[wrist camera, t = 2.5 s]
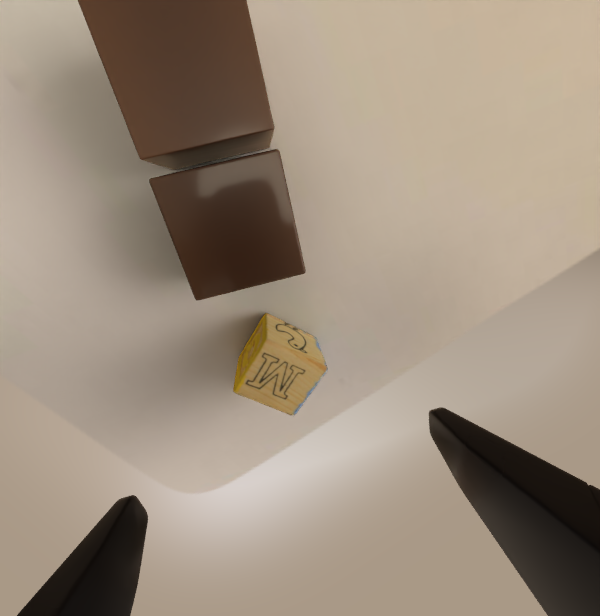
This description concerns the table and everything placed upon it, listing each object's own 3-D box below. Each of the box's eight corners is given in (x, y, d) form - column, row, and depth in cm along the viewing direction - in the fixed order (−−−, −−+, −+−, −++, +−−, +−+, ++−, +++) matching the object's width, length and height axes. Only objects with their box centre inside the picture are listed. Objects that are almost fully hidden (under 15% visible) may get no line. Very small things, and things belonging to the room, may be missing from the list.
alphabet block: (287, 380, 16) (294, 420, 13) (236, 358, 15) (231, 396, 12) (317, 336, 15) (330, 368, 12) (264, 310, 14) (266, 338, 11)
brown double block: (210, 275, 13) (195, 301, 10) (128, 45, 10) (66, -27, 7) (294, 254, 13) (306, 273, 10) (241, 21, 10) (233, -61, 7)
